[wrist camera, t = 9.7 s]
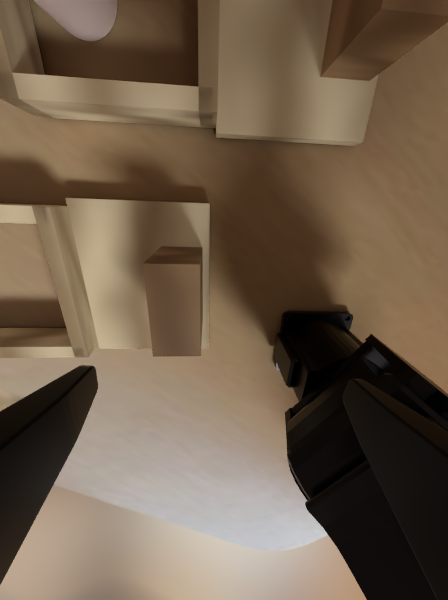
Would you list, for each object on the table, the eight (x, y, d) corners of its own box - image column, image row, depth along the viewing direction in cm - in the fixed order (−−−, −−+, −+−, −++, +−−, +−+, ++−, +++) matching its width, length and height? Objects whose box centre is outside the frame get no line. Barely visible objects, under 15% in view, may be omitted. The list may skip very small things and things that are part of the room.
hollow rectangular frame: (209, 203, 16) (210, 203, 11) (208, 341, 21) (208, 390, 16) (-99, 191, 15) (-281, 184, 9) (-25, 342, 20) (-116, 397, 14)
